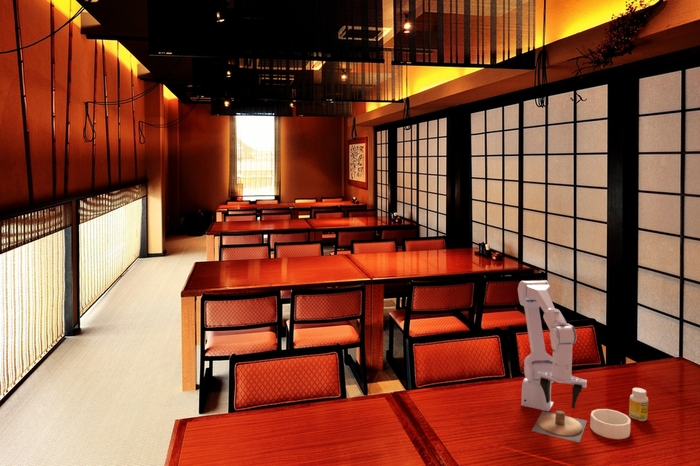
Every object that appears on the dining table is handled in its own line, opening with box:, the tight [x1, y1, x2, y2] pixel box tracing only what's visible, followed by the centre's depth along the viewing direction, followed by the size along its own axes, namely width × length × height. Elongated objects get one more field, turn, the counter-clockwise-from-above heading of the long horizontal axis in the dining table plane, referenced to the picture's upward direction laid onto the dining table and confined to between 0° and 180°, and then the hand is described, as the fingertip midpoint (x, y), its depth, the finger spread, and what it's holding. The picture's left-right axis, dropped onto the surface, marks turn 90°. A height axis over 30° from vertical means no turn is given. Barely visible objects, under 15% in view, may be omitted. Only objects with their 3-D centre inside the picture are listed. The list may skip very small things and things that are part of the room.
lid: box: [537, 410, 582, 436], centre depth 166 cm, size 13×13×4 cm
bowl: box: [589, 408, 632, 440], centre depth 163 cm, size 11×11×5 cm
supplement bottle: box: [628, 387, 649, 422], centre depth 172 cm, size 5×5×10 cm
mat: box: [531, 410, 588, 444], centre depth 166 cm, size 14×16×1 cm
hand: (560, 404), depth 166 cm, fingers open, 7 cm apart
